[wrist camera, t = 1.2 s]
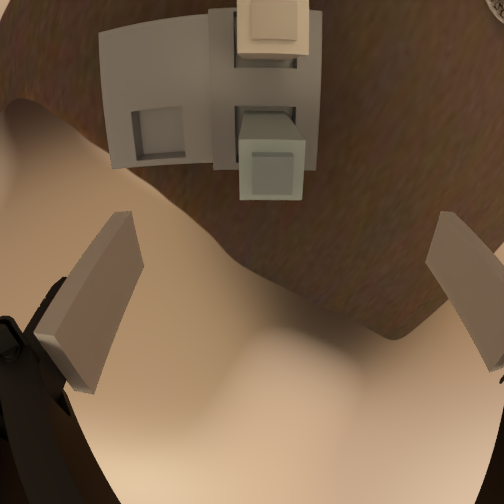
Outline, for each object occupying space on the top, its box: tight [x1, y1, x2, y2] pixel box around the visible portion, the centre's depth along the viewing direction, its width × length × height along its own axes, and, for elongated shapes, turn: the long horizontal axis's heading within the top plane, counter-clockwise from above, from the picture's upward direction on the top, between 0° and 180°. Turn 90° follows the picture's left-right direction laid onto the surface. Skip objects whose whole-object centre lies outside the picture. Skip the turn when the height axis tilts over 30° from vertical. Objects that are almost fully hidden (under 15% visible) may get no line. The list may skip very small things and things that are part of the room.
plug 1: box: [237, 0, 309, 61], centre depth 18 cm, size 4×4×14 cm
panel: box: [99, 8, 322, 171], centre depth 27 cm, size 16×22×6 cm
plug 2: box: [239, 111, 306, 200], centre depth 24 cm, size 4×4×14 cm
